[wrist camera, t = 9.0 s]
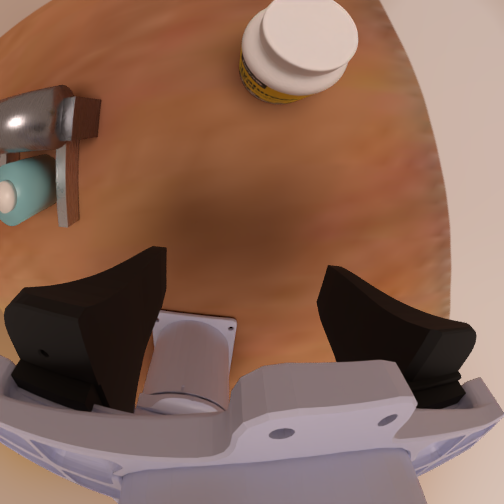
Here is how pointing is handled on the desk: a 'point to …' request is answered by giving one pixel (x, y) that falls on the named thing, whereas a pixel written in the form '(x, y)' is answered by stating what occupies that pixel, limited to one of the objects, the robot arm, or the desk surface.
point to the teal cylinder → (27, 188)
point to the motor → (50, 136)
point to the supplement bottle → (296, 49)
